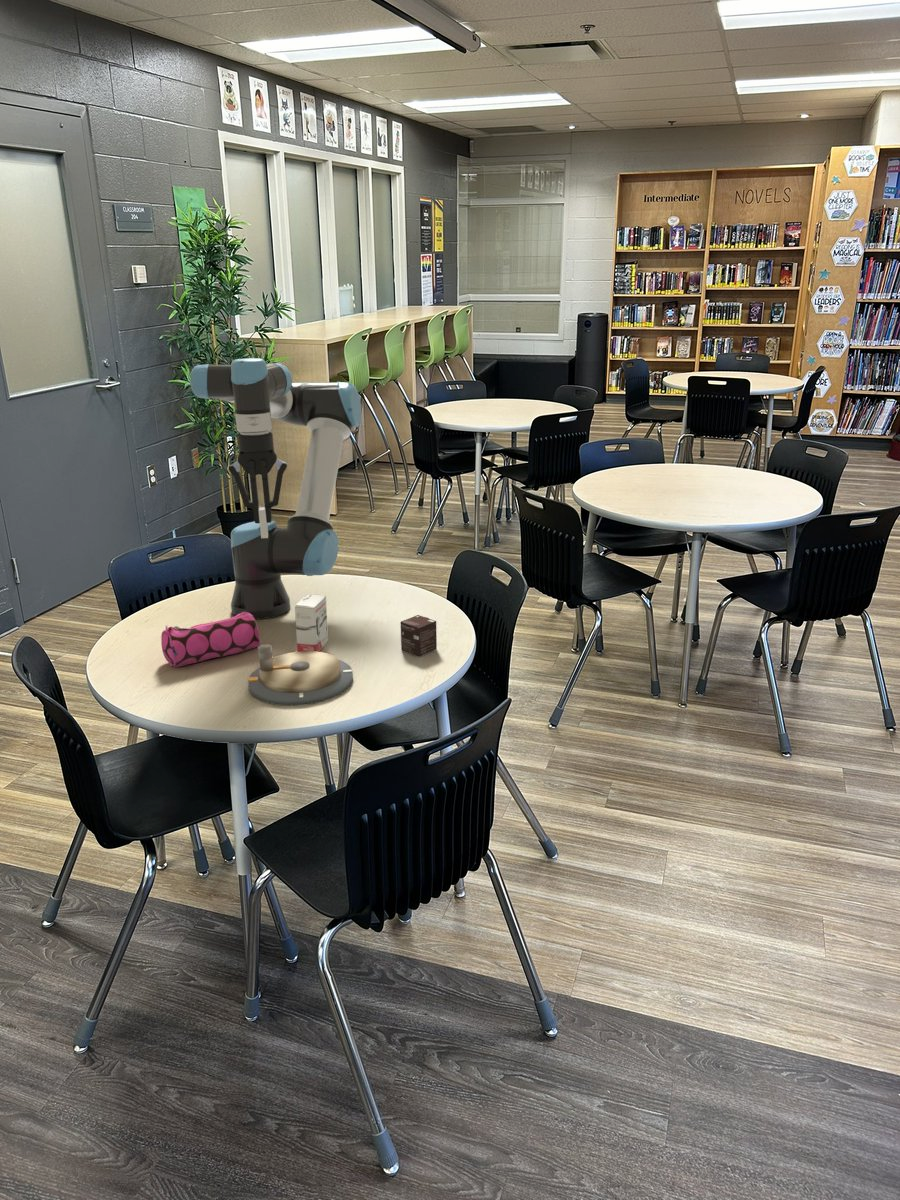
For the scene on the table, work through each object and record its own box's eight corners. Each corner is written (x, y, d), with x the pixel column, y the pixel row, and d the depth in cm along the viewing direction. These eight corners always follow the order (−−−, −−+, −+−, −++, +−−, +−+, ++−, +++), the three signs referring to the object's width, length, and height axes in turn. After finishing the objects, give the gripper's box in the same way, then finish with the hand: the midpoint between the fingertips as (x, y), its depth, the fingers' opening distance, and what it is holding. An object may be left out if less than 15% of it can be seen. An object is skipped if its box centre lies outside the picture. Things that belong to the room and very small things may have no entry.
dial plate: (251, 666, 199) (250, 658, 198) (349, 657, 202) (349, 650, 201) (246, 709, 178) (245, 701, 178) (356, 699, 182) (355, 691, 181)
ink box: (317, 655, 204) (313, 606, 200) (296, 654, 205) (292, 605, 201) (329, 641, 212) (326, 594, 208) (309, 640, 213) (306, 593, 209)
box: (400, 651, 205) (399, 621, 203) (419, 643, 209) (418, 614, 207) (419, 657, 201) (418, 627, 199) (437, 650, 205) (436, 620, 203)
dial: (255, 695, 181) (252, 663, 179) (264, 661, 197) (261, 632, 195) (339, 690, 182) (337, 658, 180) (341, 657, 198) (339, 628, 196)
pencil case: (175, 676, 195) (169, 633, 192) (161, 662, 202) (155, 621, 199) (266, 652, 206) (262, 611, 203) (249, 639, 214) (244, 600, 211)
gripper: (222, 436, 189) (234, 543, 197) (284, 433, 191) (293, 539, 199) (225, 430, 196) (236, 534, 204) (285, 428, 198) (293, 530, 206)
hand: (264, 536), depth 202 cm, fingers closed
